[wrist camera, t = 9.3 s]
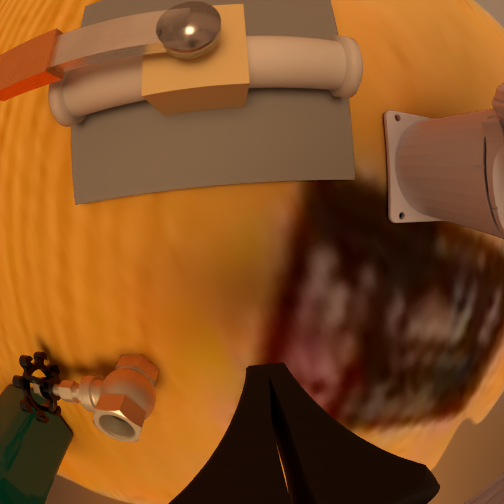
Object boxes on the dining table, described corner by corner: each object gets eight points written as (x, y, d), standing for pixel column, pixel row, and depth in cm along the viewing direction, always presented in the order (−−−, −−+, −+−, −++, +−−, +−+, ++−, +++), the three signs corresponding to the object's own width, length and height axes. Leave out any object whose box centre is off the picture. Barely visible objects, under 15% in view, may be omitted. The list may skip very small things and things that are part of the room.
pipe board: (321, -13, 13) (343, -51, 8) (348, 179, 17) (391, 181, 12) (90, 11, 12) (61, -20, 7) (82, 203, 16) (36, 214, 11)
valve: (150, 335, 19) (38, 337, 19) (124, 393, 13) (0, 377, 12) (172, 397, 21) (65, 392, 20) (160, 456, 15) (40, 435, 14)
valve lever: (223, 18, 9) (223, -4, 7) (219, 63, 10) (218, 44, 8) (15, 64, 8) (-4, 56, 6) (7, 103, 9) (-15, 98, 7)
